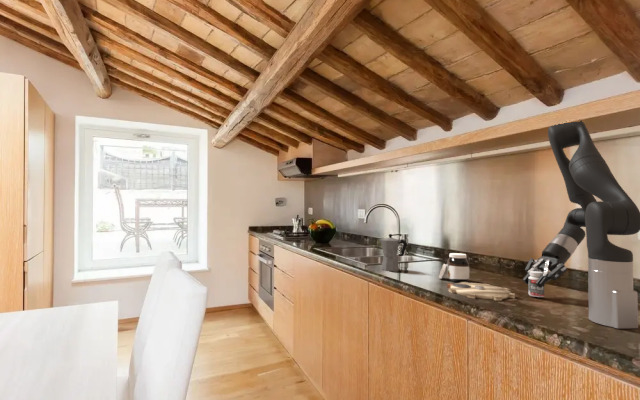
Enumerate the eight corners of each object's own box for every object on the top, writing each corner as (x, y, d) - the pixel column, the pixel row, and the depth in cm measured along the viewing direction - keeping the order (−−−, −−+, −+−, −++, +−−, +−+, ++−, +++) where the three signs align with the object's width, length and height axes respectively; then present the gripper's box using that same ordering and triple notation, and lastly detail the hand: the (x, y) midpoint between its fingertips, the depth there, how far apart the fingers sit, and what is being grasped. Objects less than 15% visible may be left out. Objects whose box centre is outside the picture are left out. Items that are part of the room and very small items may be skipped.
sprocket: (530, 300, 111) (530, 294, 111) (466, 300, 109) (466, 294, 109) (489, 284, 134) (489, 280, 134) (436, 285, 132) (436, 280, 132)
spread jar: (472, 284, 135) (472, 255, 135) (444, 283, 135) (444, 255, 136) (460, 278, 147) (460, 252, 147) (435, 277, 147) (435, 251, 148)
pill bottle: (530, 296, 113) (529, 272, 114) (526, 293, 118) (526, 270, 118) (546, 298, 112) (545, 273, 112) (542, 294, 116) (541, 271, 116)
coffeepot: (374, 269, 165) (374, 233, 166) (382, 266, 173) (383, 232, 173) (402, 273, 156) (402, 235, 156) (410, 270, 163) (410, 234, 164)
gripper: (536, 240, 124) (509, 273, 121) (572, 244, 110) (542, 281, 107) (548, 254, 125) (521, 287, 122) (585, 259, 111) (556, 296, 108)
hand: (531, 284), depth 114 cm, fingers closed on pill bottle, 4 cm apart
